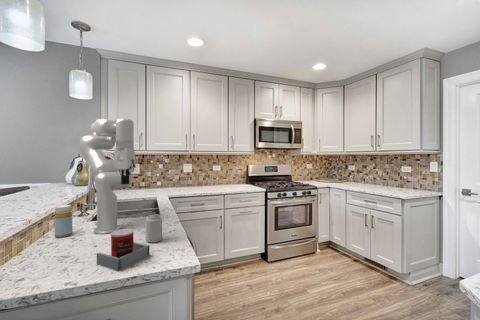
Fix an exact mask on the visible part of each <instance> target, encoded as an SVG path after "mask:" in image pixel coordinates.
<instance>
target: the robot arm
mask: <svg viewBox="0 0 480 320" xmlns="http://www.w3.org/2000/svg"><path fill="white" fill-rule="evenodd" d="M134 125H135V124H134V121H133V120H132V119H129V118H118V119H109V118H99V119H98V118H97V119H96V120H95V121H94V122H93V123H91V125H90V127H89V129H90V132H91V133H92V134H86V135H83V136H81V137H80V139H79V148H80V152H81V153H82V155H83V157H85V159H87V161H88V163H89V165H90V168H91V170H92V172H93V173H94V175H95V176H94V186H95V191H96V193H95V194H96V222H94V225H95V226H96V228H94V229H93V233H94V234H96V235H97V234H98V235H104V234H105V235H106V234H111V233H112V232H113V231H116V230H120V229H122V227H121V225H118V196H117V195H116V193H115V192H114V191H113V190H117V189H125V188H128V187H130V186H131V184H132V179H131V173H133V172H135V168H136V166H137V165H136V161H137V160H136V151H135V144H134V143H135V141H134V140H135V134H134V133H135V131H134V130H135V129H134ZM114 147H115V148H114ZM113 148H114V153H113V159H110V158H109V159H107V158H106V156H105V155H104V153H103V152H101V151H100V150H102V151H103V150H105V151H108V150H112V149H113Z"/></svg>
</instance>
